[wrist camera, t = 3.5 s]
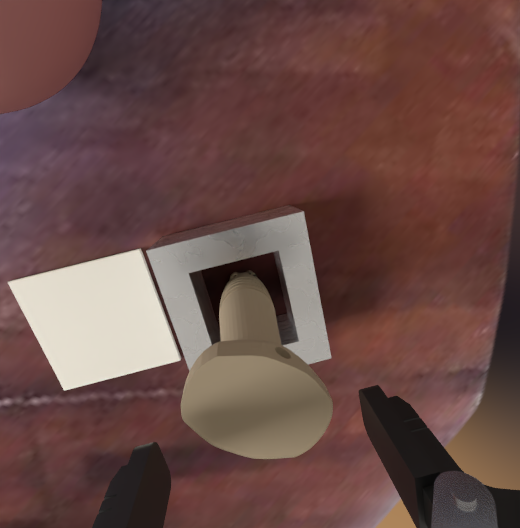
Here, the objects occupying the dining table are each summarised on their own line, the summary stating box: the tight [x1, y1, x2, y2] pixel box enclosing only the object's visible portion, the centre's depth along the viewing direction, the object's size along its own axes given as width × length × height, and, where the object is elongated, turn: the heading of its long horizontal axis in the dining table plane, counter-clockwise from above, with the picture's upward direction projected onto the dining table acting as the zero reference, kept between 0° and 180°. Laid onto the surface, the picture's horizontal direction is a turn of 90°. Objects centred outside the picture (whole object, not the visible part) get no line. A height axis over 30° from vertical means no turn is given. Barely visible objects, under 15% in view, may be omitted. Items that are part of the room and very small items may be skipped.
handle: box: [181, 270, 333, 459], centre depth 20 cm, size 5×6×15 cm
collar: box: [146, 205, 331, 371], centre depth 24 cm, size 12×11×5 cm
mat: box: [8, 248, 181, 391], centre depth 26 cm, size 11×11×1 cm
